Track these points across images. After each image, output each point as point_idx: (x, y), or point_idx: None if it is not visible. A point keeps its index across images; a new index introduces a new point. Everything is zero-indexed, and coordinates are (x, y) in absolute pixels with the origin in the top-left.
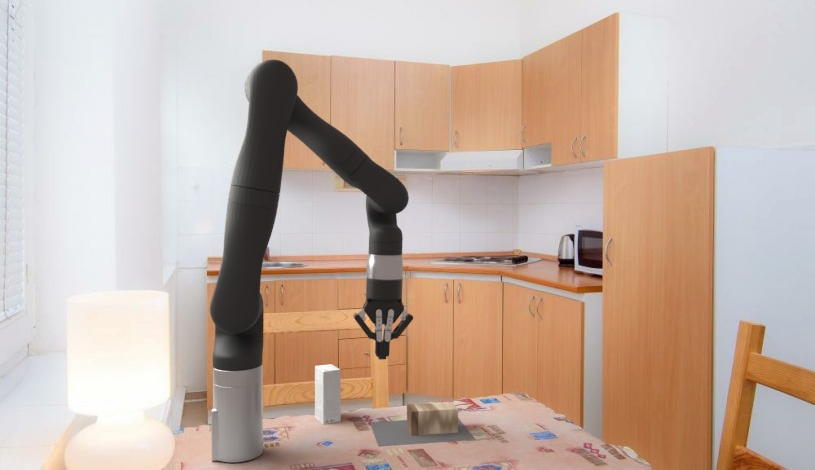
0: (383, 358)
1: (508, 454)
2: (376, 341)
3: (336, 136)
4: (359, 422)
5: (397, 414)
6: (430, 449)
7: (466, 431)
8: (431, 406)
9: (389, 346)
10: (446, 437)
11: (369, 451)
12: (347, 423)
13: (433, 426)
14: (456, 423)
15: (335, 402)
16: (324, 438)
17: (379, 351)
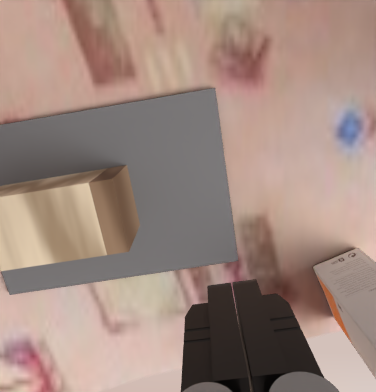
0: (226, 284)
1: None
2: (326, 389)
3: None
4: (263, 270)
5: (166, 322)
6: (74, 78)
7: None
8: (47, 229)
9: (183, 362)
10: (31, 149)
11: (238, 65)
12: (294, 263)
13: (59, 179)
14: None
15: (354, 290)
16: (356, 161)
17: (266, 314)
